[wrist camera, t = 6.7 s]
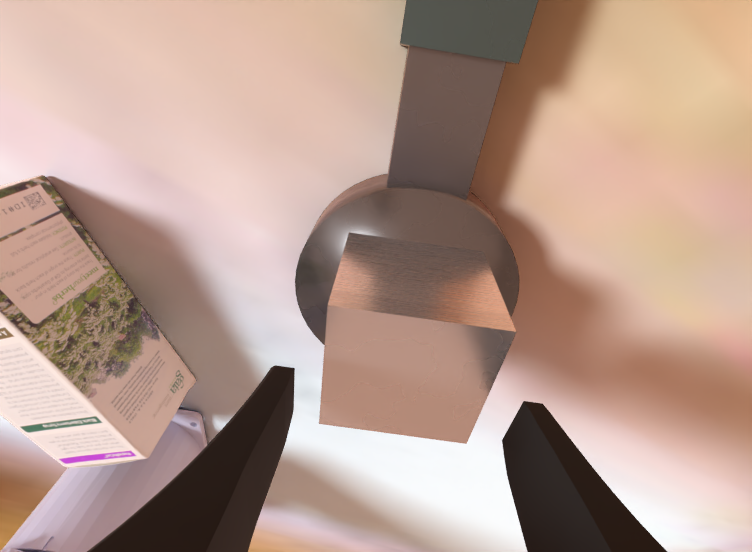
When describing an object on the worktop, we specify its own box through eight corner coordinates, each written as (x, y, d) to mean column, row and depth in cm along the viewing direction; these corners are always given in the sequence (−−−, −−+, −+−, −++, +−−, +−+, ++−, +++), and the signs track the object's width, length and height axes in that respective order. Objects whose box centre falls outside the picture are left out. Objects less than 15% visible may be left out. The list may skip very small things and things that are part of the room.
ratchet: (472, 353, 21) (495, 451, 16) (304, 328, 21) (272, 419, 16) (675, -163, 10) (959, -387, 5) (328, -227, 10) (249, -530, 5)
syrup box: (-216, 251, 13) (62, 473, 20) (-93, 217, 12) (152, 464, 19) (-48, 196, 18) (127, 391, 25) (50, 169, 17) (201, 381, 24)
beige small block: (450, 350, 18) (466, 443, 13) (338, 334, 18) (319, 423, 13) (483, 251, 15) (516, 331, 10) (348, 232, 15) (327, 305, 10)
